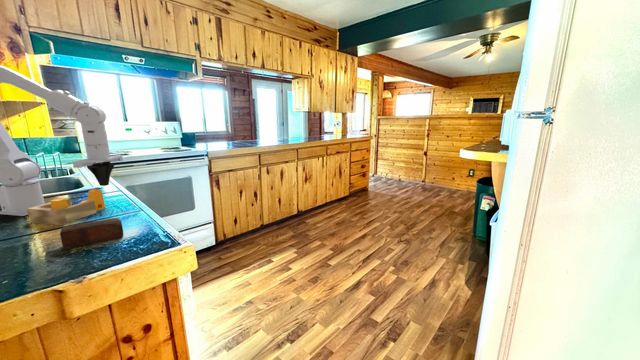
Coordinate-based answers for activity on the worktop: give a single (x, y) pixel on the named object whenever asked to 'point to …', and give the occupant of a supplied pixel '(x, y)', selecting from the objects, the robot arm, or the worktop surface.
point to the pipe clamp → (93, 195)
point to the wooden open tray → (61, 213)
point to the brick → (91, 233)
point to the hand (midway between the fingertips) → (104, 185)
